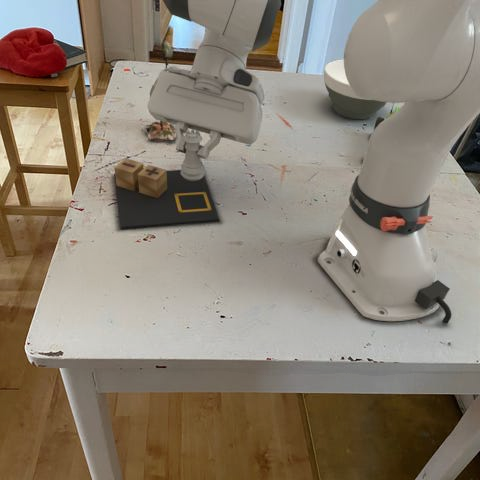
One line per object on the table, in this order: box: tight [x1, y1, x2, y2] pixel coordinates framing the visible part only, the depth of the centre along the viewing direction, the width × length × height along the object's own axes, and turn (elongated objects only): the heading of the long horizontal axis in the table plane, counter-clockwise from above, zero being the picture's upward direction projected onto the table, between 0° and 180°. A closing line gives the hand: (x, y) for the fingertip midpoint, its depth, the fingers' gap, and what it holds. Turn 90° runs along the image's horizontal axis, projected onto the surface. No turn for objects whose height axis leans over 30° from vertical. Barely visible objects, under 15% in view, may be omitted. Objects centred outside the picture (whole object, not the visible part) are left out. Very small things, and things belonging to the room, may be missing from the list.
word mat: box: [113, 169, 220, 230], centre depth 91 cm, size 18×18×1 cm
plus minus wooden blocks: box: [114, 157, 168, 198], centre depth 91 cm, size 4×9×4 cm, turn 68°
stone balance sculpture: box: [144, 40, 177, 142], centre depth 102 cm, size 8×11×20 cm
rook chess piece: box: [180, 129, 206, 181], centre depth 83 cm, size 4×4×8 cm
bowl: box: [323, 58, 388, 120], centre depth 123 cm, size 20×20×10 cm
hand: (191, 154), depth 83 cm, fingers closed on rook chess piece, 3 cm apart
